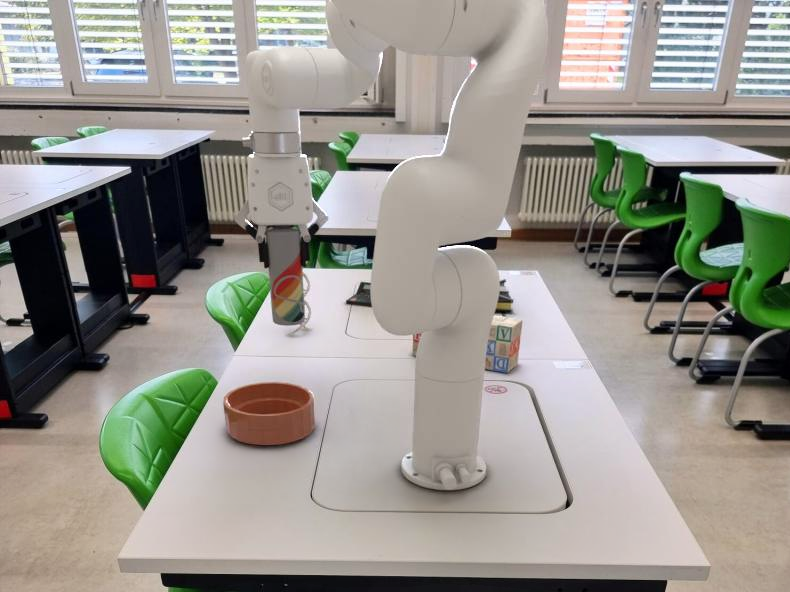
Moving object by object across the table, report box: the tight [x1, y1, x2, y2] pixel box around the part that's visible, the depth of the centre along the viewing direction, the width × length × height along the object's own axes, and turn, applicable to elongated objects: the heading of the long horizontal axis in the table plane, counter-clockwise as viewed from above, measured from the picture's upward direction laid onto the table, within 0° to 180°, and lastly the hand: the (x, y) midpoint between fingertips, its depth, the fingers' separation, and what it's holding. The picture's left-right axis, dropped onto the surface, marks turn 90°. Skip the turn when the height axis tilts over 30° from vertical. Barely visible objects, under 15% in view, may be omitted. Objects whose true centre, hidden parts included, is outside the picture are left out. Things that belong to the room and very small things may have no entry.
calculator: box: [345, 281, 372, 308], centre depth 188 cm, size 9×12×3 cm
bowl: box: [222, 381, 316, 446], centre depth 118 cm, size 14×14×6 cm
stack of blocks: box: [412, 314, 523, 374], centre depth 147 cm, size 21×6×12 cm, turn 62°
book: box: [495, 278, 514, 314], centre depth 188 cm, size 22×17×5 cm
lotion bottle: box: [265, 225, 306, 327], centre depth 123 cm, size 6×6×20 cm
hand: (285, 265), depth 123 cm, fingers closed on lotion bottle, 5 cm apart
